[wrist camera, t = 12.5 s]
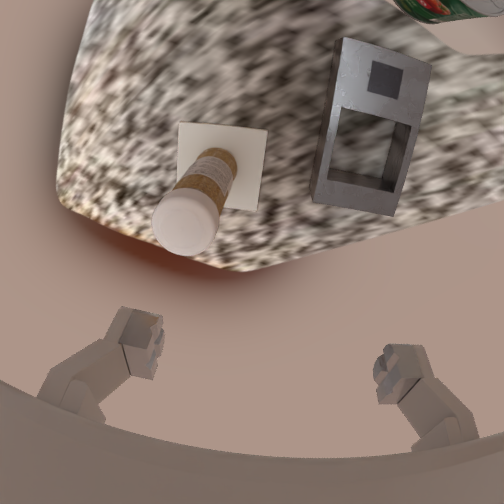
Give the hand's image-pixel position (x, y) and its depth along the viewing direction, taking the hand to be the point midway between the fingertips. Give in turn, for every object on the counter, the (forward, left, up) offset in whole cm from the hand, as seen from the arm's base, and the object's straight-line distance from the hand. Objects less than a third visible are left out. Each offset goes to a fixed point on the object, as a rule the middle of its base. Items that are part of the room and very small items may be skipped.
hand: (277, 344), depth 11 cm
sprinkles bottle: (+2, -6, -24) cm, 25 cm away
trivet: (+2, -6, -24) cm, 25 cm away
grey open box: (-5, +8, -24) cm, 26 cm away
